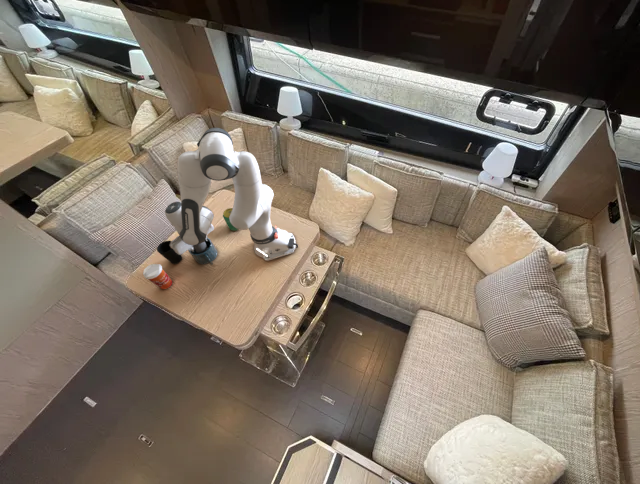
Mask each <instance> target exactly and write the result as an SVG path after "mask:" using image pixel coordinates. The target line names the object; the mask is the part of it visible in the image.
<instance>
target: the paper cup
mask: <svg viewBox="0 0 640 484" xmlns="http://www.w3.org/2000/svg"><path fill="white" fill-rule="evenodd" d="M142 274H143V275H142V276H143V278H144V279H146V280H149V281H150V282H151V283H153V284H154V285H155V286H157V287H158V288H160V289H161V290H166V289H169V288H171V286H172V285H173V280H172V279H171V277H170V276H169V275H168V274H167V273H166V271H165V270H164V269H163V266H162V264H159V263H152V264H149V265H147V266H146V267H145V268H144V269H143V270H142Z"/></svg>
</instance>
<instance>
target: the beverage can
mask: <svg viewBox="0 0 640 484" xmlns="http://www.w3.org/2000/svg"><path fill="white" fill-rule="evenodd" d="M232 209H233V207H229V208H226V209H225V210H224V211H223V213H222V217H223V219H224V222H225V223H226V226H227V227H228V229H229V230H231V231H232V232H233V231H234V232H236V231H239V230H240V229H237V228H235V227H234V226H233V225H232V224H231V222H230V219H229V216H230V214H231V212H232Z"/></svg>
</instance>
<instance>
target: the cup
mask: <svg viewBox="0 0 640 484" xmlns="http://www.w3.org/2000/svg"><path fill="white" fill-rule="evenodd" d="M171 241H172V240H165V241H162V242H160V243H159V244H158V245H157V247H156V252H157V253H159V255H161V256H162V257H163V258H164V259H166V260H167V261H168V262H169V263H170V264H173V265H177V264H179V263H180V262H182V261H183V256H182V255H179V254H177V253H176V252H175V251H174V250H173V249H172V248H171V247H170V243H171Z"/></svg>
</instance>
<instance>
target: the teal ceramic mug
mask: <svg viewBox="0 0 640 484" xmlns="http://www.w3.org/2000/svg"><path fill="white" fill-rule="evenodd" d="M207 240H208V241H207V242H205V243H206V245H207V246H208V248H209V249H208V250H207V251H205V252H203V253H201V254H197V252H196V251H194V252H192V251H191V250H187V251H188V253H189V254H190V256H191V257H192V258H193V259H194V261H195V262H196V263H197V264H199V265H208V264H210V266H213V265H214V263H213V262H214V261H215V259H216V258H217V257H218V254H219V253H218V249H217V248H216V246H215V245H214V243H213V242H212V239H210V238H209V237H207Z"/></svg>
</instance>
